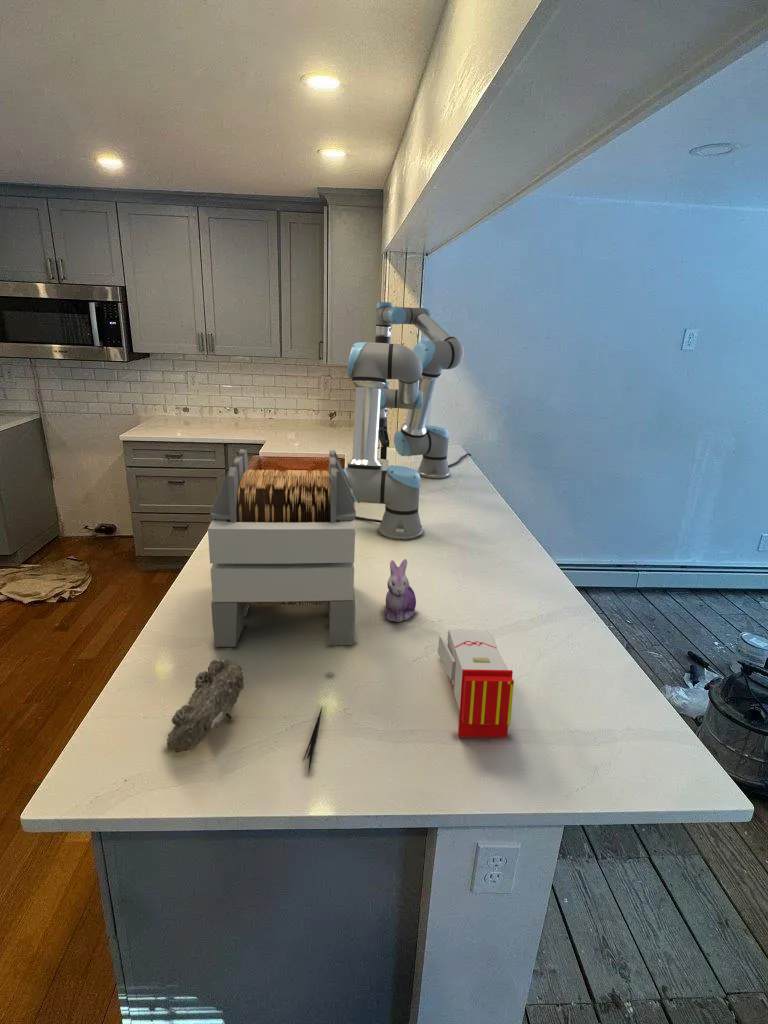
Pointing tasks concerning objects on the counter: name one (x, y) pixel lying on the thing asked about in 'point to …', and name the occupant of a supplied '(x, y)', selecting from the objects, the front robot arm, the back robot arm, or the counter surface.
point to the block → (383, 463)
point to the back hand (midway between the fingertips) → (381, 380)
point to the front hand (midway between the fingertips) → (376, 464)
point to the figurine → (399, 594)
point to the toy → (478, 682)
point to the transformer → (282, 546)
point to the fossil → (206, 705)
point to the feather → (313, 740)
